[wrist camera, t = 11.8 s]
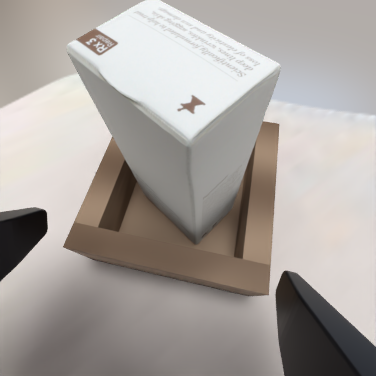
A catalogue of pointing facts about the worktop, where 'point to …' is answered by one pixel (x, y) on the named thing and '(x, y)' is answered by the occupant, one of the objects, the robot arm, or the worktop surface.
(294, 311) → the robot arm
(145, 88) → the skincare box
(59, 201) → the worktop surface
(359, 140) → the worktop surface
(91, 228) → the walnut socket
